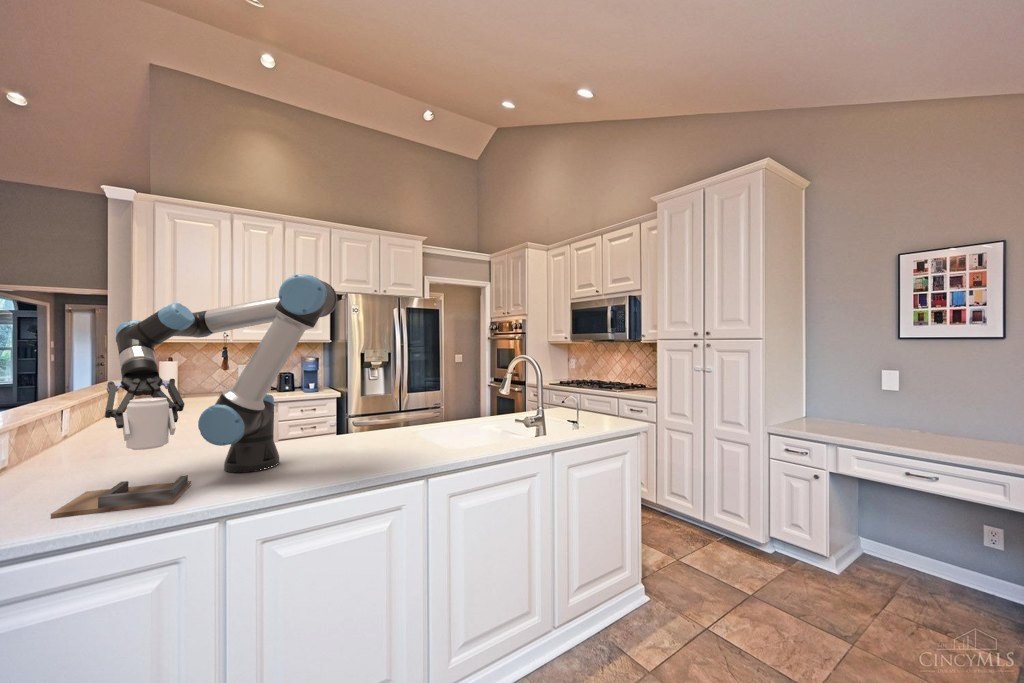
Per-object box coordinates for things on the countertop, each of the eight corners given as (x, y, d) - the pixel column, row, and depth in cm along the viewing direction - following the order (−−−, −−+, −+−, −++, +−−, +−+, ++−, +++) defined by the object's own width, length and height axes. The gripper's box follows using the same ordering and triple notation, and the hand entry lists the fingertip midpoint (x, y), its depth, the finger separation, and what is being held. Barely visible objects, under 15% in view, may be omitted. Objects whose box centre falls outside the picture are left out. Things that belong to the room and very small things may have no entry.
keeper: (191, 484, 119) (191, 471, 119) (173, 503, 104) (173, 489, 104) (86, 495, 109) (86, 481, 110) (50, 518, 95) (50, 502, 95)
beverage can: (143, 451, 103) (144, 401, 103) (117, 450, 105) (118, 400, 105) (176, 444, 111) (177, 397, 111) (151, 442, 112) (152, 397, 113)
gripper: (184, 374, 126) (198, 436, 115) (84, 378, 110) (90, 451, 99) (188, 356, 122) (204, 419, 112) (86, 358, 107) (93, 431, 96)
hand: (150, 434), depth 106 cm, fingers closed on beverage can, 8 cm apart
